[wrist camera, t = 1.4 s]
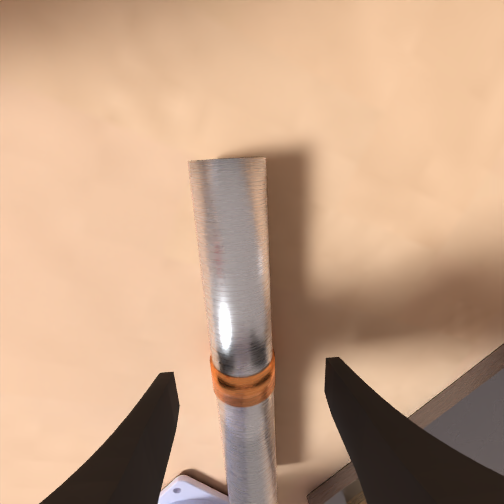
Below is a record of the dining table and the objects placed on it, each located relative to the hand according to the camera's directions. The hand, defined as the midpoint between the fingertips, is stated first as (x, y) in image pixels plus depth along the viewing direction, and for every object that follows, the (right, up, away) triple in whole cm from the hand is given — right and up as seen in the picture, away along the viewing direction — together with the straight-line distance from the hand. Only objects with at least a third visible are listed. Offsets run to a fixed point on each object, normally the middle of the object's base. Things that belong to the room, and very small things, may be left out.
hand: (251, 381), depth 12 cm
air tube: (0, +1, +2) cm, 3 cm away
